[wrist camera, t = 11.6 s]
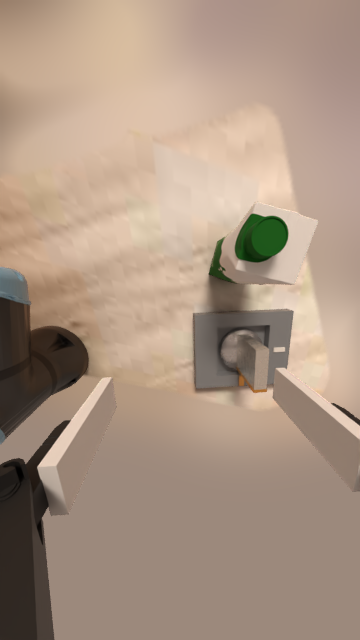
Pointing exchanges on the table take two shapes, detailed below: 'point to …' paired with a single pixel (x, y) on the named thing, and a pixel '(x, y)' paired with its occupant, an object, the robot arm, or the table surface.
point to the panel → (217, 324)
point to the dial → (246, 357)
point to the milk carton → (264, 247)
